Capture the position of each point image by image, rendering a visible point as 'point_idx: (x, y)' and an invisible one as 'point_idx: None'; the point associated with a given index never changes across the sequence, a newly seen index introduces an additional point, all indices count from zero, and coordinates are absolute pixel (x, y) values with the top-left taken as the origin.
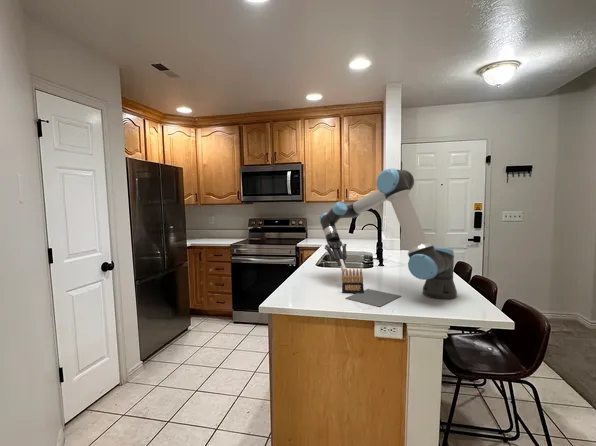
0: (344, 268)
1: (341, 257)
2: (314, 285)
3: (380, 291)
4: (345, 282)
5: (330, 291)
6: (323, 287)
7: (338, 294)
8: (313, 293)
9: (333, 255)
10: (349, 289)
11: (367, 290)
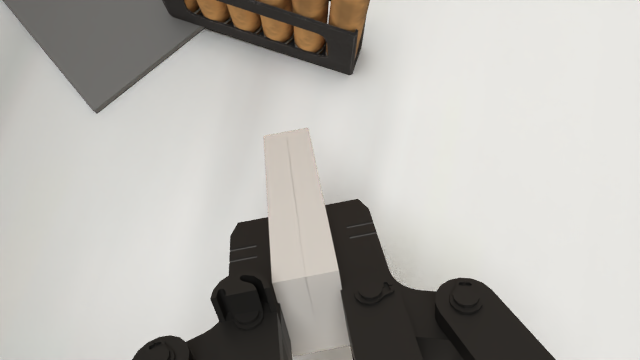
0: (288, 138)
1: (281, 345)
2: (597, 341)
3: (17, 16)
4: (324, 25)
5: (458, 105)
6: (508, 248)
7: (402, 10)
8: (621, 66)
9: (524, 357)
10: (293, 26)
11: (118, 60)
